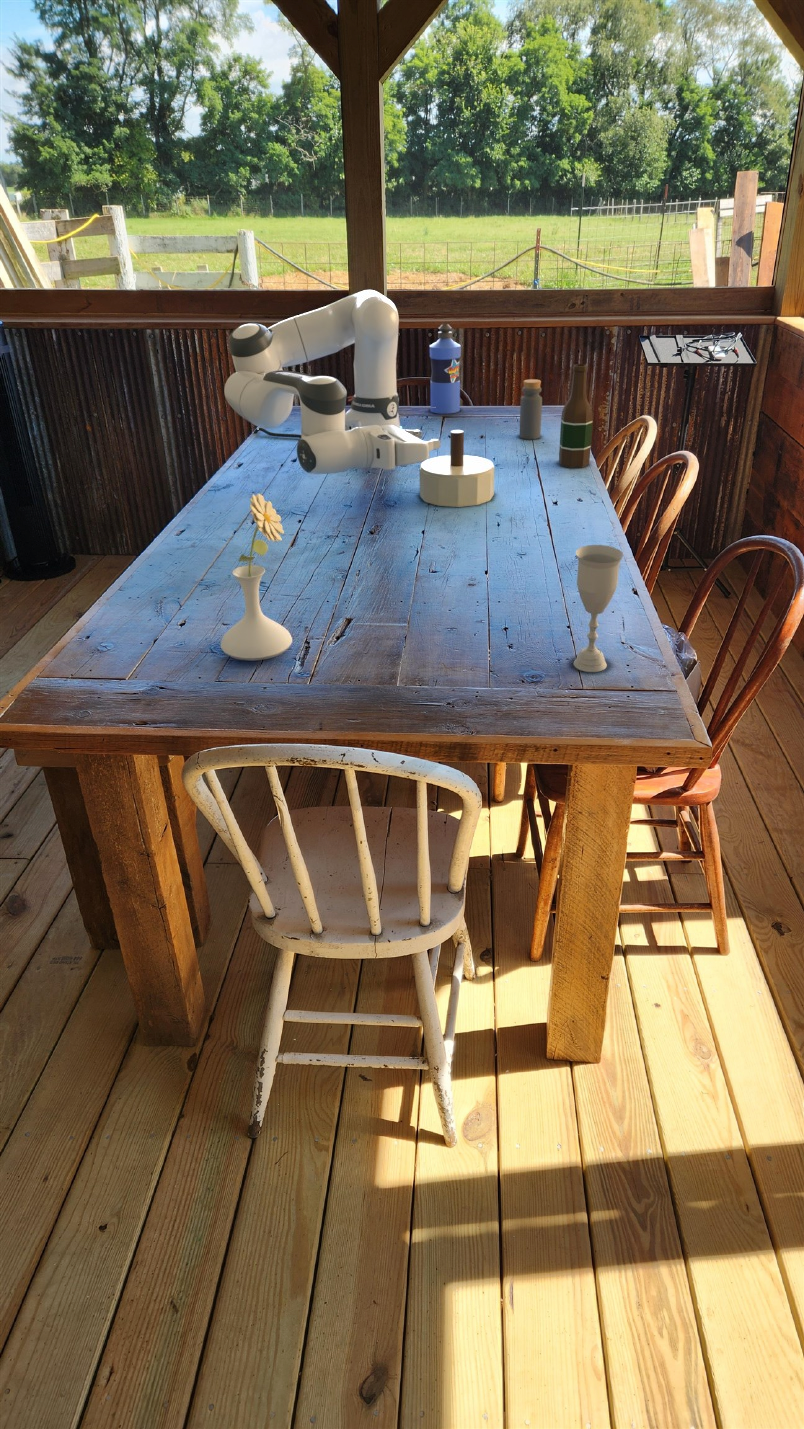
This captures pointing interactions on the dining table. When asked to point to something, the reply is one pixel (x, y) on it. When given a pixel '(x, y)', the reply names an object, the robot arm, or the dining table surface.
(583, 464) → the beer bottle
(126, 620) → the dining table surface
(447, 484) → the lid
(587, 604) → the chalice
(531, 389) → the bottle
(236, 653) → the flower in vase
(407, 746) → the dining table surface
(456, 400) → the water bottle
